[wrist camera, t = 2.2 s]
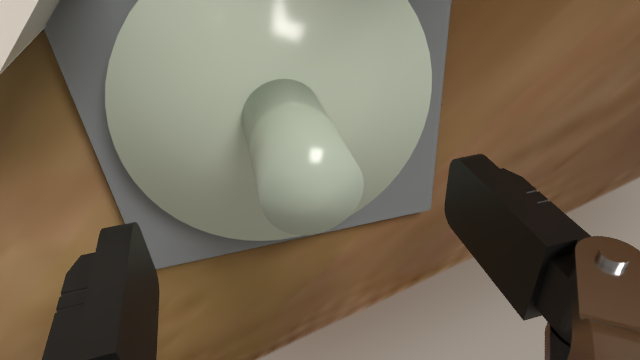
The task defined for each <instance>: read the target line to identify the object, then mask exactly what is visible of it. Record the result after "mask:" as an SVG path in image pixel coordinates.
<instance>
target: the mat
mask: <svg viewBox="0 0 640 360" xmlns="http://www.w3.org/2000/svg"><path fill="white" fill-rule="evenodd" d="M136 1H137V0H60V1H59V3H58V5H57V6H56V8H55V10H54V12H53V13H52V15H51V17H50V19H49V21H48V22H47V24H46V27H45V28H44V31H45V33H46V36H47V38H48V40H49V43H50V45H51V48H52V50H53V52H54V55H55V57H56V60H57V62H58V64H59V67H60V69H61V72H62V74H63V76H64V79H65V81H66V84H67V86H68V88H69V91H70V93H71V95H72V98H73V100H74V103H75V105H76V107H77V110H78V112H79V115H80V117H81V119H82V122H83V124H84V127H85V129H86V131H87V134H88V136H89V139H90V141H91V143H92V146H93V148H94V151H95V153H96V155H97V158H98V160H99V163H100V165H101V167H102V170H103V172H104V175H105V177H106V179H107V182H108V184H109V186H110V189H111V191H112V194H113V196H114V198H115V201H116V203H117V206H118V208H119V210H120V213H121V215H122V218H123V220H124V222H125V224H128V223H133V222H136V223H137V224H138V225H139V227H140V229H141V232H142V234H143V237H144V240H145V242H146V245H147V248H148V250H149V253H150V255H151V258H152V261H153V263H154V266H155V269H160V268H164V267H169V266H174V265H178V264H183V263H188V262H192V261H197V260H201V259H206V258H211V257H215V256H220V255H224V254H229V253H234V252H238V251H243V250H247V249H252V248H257V247H261V246H266V245H270V244H275V243H280V242H284V241H289V240H293V239H298V238H303V237H307V236H312V235H302V236H299V237H293V238H288V239H282V240H269V241H251V240H239V239H232V238H226V237H222V236H218V235H214V234H210V233H207V232H205V231H202V230H199V229H197V228H194V227H192V226H190V225H188V224H186V223H184V222H182V221H180V220H178V219H176V218H175V217H173V216H172V215H170V214H169V213H167V212H166V211H164V210H163V209H161V208H160V207H159V206H158V205H157V204H155V203H154V202H153V201H152V200H151V199H150V198H149V197H147V196H146V195H145V193H144V192H143V191H142V190H141V189H140V188H139V187H138V185H137V184H136V183H135V182H134V181H133V179H132V178H131V176H130V175H129V173H128V172H127V170H126V169H125V167H124V166H123V164H122V162H121V160H120V158H119V155H118V153H117V151H116V149H115V147H114V144H113V141H112V137H111V134H110V131H109V128H108V122H107V115H106V108H105V82H106V76H107V70H108V64H109V59H110V56H111V53H112V50H113V47H114V44H115V41H116V38H117V36H118V33H119V31H120V29H121V27H122V25H123V23H124V21H125V19H126V17H127V15H128V13H129V11H130V9H131V8H132V6H133V5H134V3H135V2H136ZM408 2H409V3H410V5H411V7H412V8H413V10H414V12H415V13H416V15H417V17H418V19H419V22H420V24H421V26H422V29H423V31H424V34H425V37H426V41H427V45H428V49H429V52H430V60H431V68H432V92H431V99H430V106H429V111H428V115H427V118H426V122H425V126H424V129H423V131H422V134H421V136H420V138H419V141H418V143H417V145H416V147H415V149H414V151H413V153H412V154H411V156H410V158H409V160H408V161H407V163H406V164H405V166H404V167H403V168H402V170H401V171H400V173H399V174H398V175H397V176H396V177H395V179H394V180H393V181H392V182H391V183H390V184H389V186H388V187H387V188H386V189H385V190H383V191H382V192H381V193H380V194H379V195H378V196H377V197H376V198H375V199H374V200H372V201H371V202H370V203H369V204H367V205H366V206H365V207H363V208H362V209H361V210H359V211H357V212H356V213H354V214H353V215H351V216H349V217H348V218H347V219H346V220H345V221H343V222H342V223H341V224H339V225H337V226H336V227H334V228H332V229H330V230H327V231H325V232H322V233H326V232H330V231H335V230H340V229H344V228H349V227H353V226H358V225H363V224H367V223H372V222H376V221H381V220H386V219H390V218H395V217H399V216H404V215H409V214H413V213H418V212H422V211H427V210H431V200H432V190H433V180H434V170H435V159H436V149H437V139H438V129H439V119H440V109H441V99H442V88H443V78H444V68H445V58H446V48H447V38H448V28H449V18H450V7H451V0H408ZM318 234H321V233H318ZM313 235H317V234H313Z"/></svg>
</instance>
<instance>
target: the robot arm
mask: <svg viewBox="0 0 640 360" xmlns="http://www.w3.org/2000/svg"><path fill="white" fill-rule="evenodd" d="M445 215H446V219H447V221H448V224H449V225H450V227H451V229H452V230H453V231H454V232H455V234H456V235H457V236H458V237H459V239H460V240H461V241H462V243H463V244H464V245H465V246H466V248H467V249H468V250H469V251H470V253H471V254H472V255H473V257H474V258H475V259H476V260H477V262H478V263H479V264H480V266H481V267H482V268H483V269H484V270H485V272H486V273H487V274H488V276H489V277H490V278H491V279H492V281H493V282H494V283H495V285H496V286H497V287H498V288H499V290H500V291H501V292H502V293H503V295H504V296H505V297H506V299H507V300H508V301H509V302H510V304H511V305H512V306H513V308H514V309H515V310H516V311H517V313H518V314H519V315H520V316H521V318H522V319H523V320H527V319H531V318H534V317H538V316H541V315H542V316H543V317H544V318H545V319H546V320H547V322H548V323H547V326H546V328H545V360H640V251H639V250H638V249H636V248H634V247H633V246H631V245H629V244H627V243H625V242H623V241H620V240H617V239H614V238H609V237H603V236H593V237H591V236H590V235H589V234H588V233H587V232H585V231H584V230H583V229H582V228H581V227H580V226H578V225H577V224H576V223H575V222H574V221H573V220H571V219H570V218H569V217H568V216H567V215H566V214H565V213H563V212H562V211H561V210H560V209H559V208H558V207H556V206H555V205H554V204H553V203H552V202H551V201H550V202H548V200H547V198H546V197H545V196H544V195H542V194H541V193H540V192H537V191H536V189H535V188H534V187H533V186H532V185H531V184H530V183H529V182H527V181H526V180H525V179H524V178H523V177H521V176H519V175H517V174H515V173H512V172H510V171H508V170H506V169H504V168H502V169H499V168H498V167H497V166H496V165H495V164H494V163H493V162H492V161H490V160H489V159H488V158H487V157H486V156H485V155H483V154H477V155H472V156H467V157H462V158H457V159H454V160H452V162H451V164H450V168H449V175H448V183H447V191H446V198H445ZM56 310H57V313H55V315H54V319H53V322H52V326H51V329H50V333H49V336H48V340H47V343H46V347H45V350H44V354H43V357H42V360H156V354H157V332H158V311H159V283H158V277H157V272H156V269H155V266H154V263H153V261H152V258H151V255H150V253H149V250H148V248H147V245H146V242H145V240H144V237H143V234H142V232H141V229H140V227H139V225H138V224H137V223H136V222H133V223H128V224H123V225H118V226H113V227H108V228H103V229H101V231H100V234H99V239H98V243H97V248H96V252H95V253H90V254H85V255H81V256H80V257H79V258H78V260H77V261H76V262H75V264H74V265H73V266H72V267H71V269H70V270H69V271H68V272H67V274H66V277H65V280H64V284H63V287H62V291H61V297H60V298H59V301H58V305H57V308H56Z"/></svg>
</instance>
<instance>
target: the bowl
mask: <svg viewBox="0 0 640 360" xmlns="http://www.w3.org/2000/svg"><path fill="white" fill-rule="evenodd" d="M59 1H60V0H0V74H1V73H2V72H3V71H4V70H5V69H6V68H7V67H8V66H9V65H10V64H11V63H12V62H13V60H14V59H15V58H16V57H17V56H18V55H19V54H20V53H21V52H22V51H23V50H24V49H25V48H26V47H27V46H28V45H29V44H30V43H31V42H32V41H33V40H34V38H35V37H36V36H37V35H38V34H39V33H40V32H41V31H42V30H43V29H44V28H45V27H46V24H47V22H48V21H49V19H50V17H51V15H52V13H53V12H54V10H55V8H56V6H57V5H58V3H59Z"/></svg>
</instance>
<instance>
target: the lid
mask: <svg viewBox="0 0 640 360" xmlns="http://www.w3.org/2000/svg"><path fill="white" fill-rule="evenodd" d="M431 92H432V68H431V60H430V52H429V49H428V45H427V41H426V37H425V34H424V31H423V29H422V26H421V24H420V22H419V19H418V17H417V15H416V13H415V12H414V10H413V8H412V7H411V5H410V3H409V2H408V0H137V1H136V2H135V3H134V5H133V6H132V8H131V9H130V11H129V13H128V15H127V17H126V19H125V21H124V23H123V25H122V27H121V29H120V31H119V33H118V36H117V38H116V41H115V44H114V47H113V50H112V53H111V56H110V59H109V64H108V70H107V76H106V82H105V108H106V115H107V122H108V128H109V131H110V134H111V137H112V141H113V144H114V147H115V149H116V151H117V153H118V155H119V158H120V160H121V162H122V164H123V166H124V167H125V169H126V170H127V172H128V173H129V175H130V176H131V178H132V179H133V181H134V182H135V183H136V184H137V185H138V187H139V188H140V189H141V190H142V191H143V192H144V193H145V195H146V196H147V197H149V198H150V199H151V200H152V201H153V202H154V203H155V204H157V205H158V206H159V207H160V208H161V209H163V210H164V211H166V212H167V213H169V214H170V215H172V216H173V217H175V218H176V219H178V220H180V221H182V222H184V223H186V224H188V225H190V226H192V227H194V228H197V229H199V230H202V231H205V232H207V233H210V234H214V235H218V236H222V237H226V238H232V239H239V240H251V241H269V240H282V239H288V238H293V237H299V236H302V235H313V234H318V233H322V232H325V231H327V230H330V229H332V228H334V227H336V226H337V225H339V224H341V223H342V222H343V221H345V220H346V219H347V218H348V217H349V216H351V215H353V214H354V213H356V212H357V211H359V210H361V209H362V208H363V207H365V206H366V205H367V204H369V203H370V202H371V201H372V200H374V199H375V198H376V197H377V196H378V195H379V194H380V193H381V192H382V191H383V190H385V189H386V188H387V187H388V186H389V184H390V183H391V182H392V181H393V180H394V179H395V177H396V176H397V175H398V174H399V173H400V171H401V170H402V168H403V167H404V166H405V164H406V163H407V161H408V160H409V158H410V156H411V154H412V153H413V151H414V149H415V147H416V145H417V143H418V141H419V138H420V136H421V134H422V131H423V129H424V126H425V122H426V118H427V115H428V111H429V106H430V99H431Z"/></svg>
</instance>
